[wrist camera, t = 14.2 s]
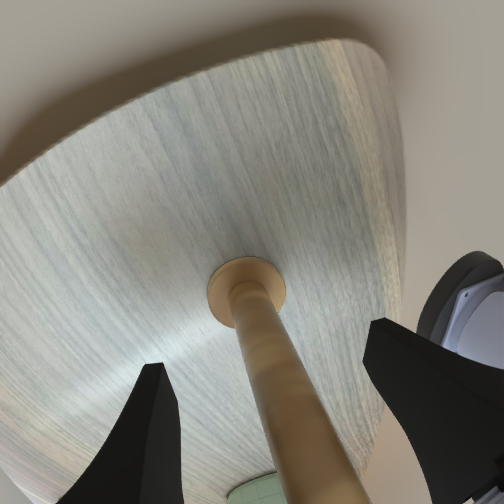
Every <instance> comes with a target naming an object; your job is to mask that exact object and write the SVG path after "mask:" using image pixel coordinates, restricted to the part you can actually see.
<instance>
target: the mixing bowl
mask: <svg viewBox="0 0 504 504" xmlns="http://www.w3.org/2000/svg"><path fill="white" fill-rule="evenodd" d="M226 503H227V504H287V502H286V499H285V496H284V493H283V490H282V487H281V483H280V480H279V477H278V474H277V472H276V473H273V474H269V475H266V476H263V477H260V478H257V479H254V480H252V481H249V482H247V483H245V484H243V485H241V486H239V487H237V488H236V489H234V490H233V491H232V492H231V493H230V495H229V498H228V499H227V501H226Z"/></svg>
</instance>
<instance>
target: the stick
mask: <svg viewBox="0 0 504 504" xmlns="http://www.w3.org/2000/svg"><path fill="white" fill-rule="evenodd" d="M285 296H286V287H285V283H284V280H283V278H282V276H281V275H280V273H279V272H278V270H277V269H276V268H275V267H274V266H273V265H272V264H271V263H269V262H268V261H266V260H264V259H260V258H256V257H241V258H237V259H234V260H231V261H229V262H227V263H226V264H224V265H223V266H221V267H220V268H219V269H218V270H217V271H216V272H215V273H214V275H213V276H212V278H211V280H210V282H209V285H208V289H207V297H208V304H209V308H210V311H211V313H212V314H213V316H214V317H215V318H216V319H217V320H218V321H219V322H220V323H222V324H223V325H225V326H228V327H230V328H234V329H236V333H237V337H238V341H239V345H240V348H241V352H242V356H243V359H244V363H245V366H246V370H247V374H248V377H249V381H250V384H251V388H252V391H253V395H254V398H255V402H256V405H257V409H258V412H259V416H260V419H261V422H262V426H263V429H264V432H265V436H266V439H267V442H268V445H269V449H270V452H271V455H272V458H273V462H274V465H275V468H276V471H277V474H278V477H279V480H280V483H281V487H282V490H283V493H284V496H285V499H286V502H287V504H372V503H371V501H370V499H369V497H368V495H367V493H366V491H365V489H364V487H363V485H362V483H361V481H360V479H359V477H358V475H357V473H356V471H355V469H354V467H353V465H352V463H351V461H350V459H349V457H348V455H347V453H346V451H345V449H344V447H343V445H342V443H341V441H340V439H339V437H338V435H337V433H336V430H335V428H334V426H333V424H332V422H331V420H330V418H329V416H328V414H327V412H326V410H325V408H324V406H323V404H322V402H321V400H320V398H319V396H318V394H317V392H316V390H315V388H314V386H313V384H312V382H311V380H310V378H309V376H308V374H307V372H306V370H305V368H304V366H303V364H302V362H301V360H300V358H299V356H298V354H297V352H296V350H295V348H294V346H293V344H292V342H291V340H290V337H289V335H288V333H287V331H286V329H285V327H284V325H283V323H282V321H281V319H280V317H279V315H278V312H279V311H280V309H281V308H282V306H283V303H284V301H285Z"/></svg>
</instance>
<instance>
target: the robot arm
mask: <svg viewBox="0 0 504 504" xmlns="http://www.w3.org/2000/svg"><path fill="white" fill-rule="evenodd" d="M455 352H457V353H458V354H459V355H458V354H456V353H455ZM362 362H363V364H364V366H365V368H366V371H367V373H368V375H369V377H370V379H371V381H372V383H373V384H374V386H375V388H376V389H377V391H378V392H379V394H380V395H381V397H382V398H383V400H384V401H385V402H386V404H387V405H388V407H389V408H390V410H391V411H392V413H393V414H394V416H395V417H396V419H397V420H398V422H399V423H400V425H401V426H402V428H403V430H404V431H405V433H406V435H407V437H408V439H409V441H410V443H411V445H412V447H413V450H414V451H415V454H416V456H417V459H418V461H419V463H420V466H421V468H422V471H423V474H424V477H425V479H426V482H427V485H428V488H429V492H430V496H431V500H432V503H433V504H463V503H465V502H466V501H467V500H469V499H470V498H471V497H472V499H473V501H474V503H473V504H504V273H501V274H499V275H497V276H494V277H492V278H489V279H487V280H484V281H482V282H479V283H477V284H474V285H472V286H469V287H467V288H464V289H462V290H460V291H459V293H458V295H457V298H456V301H455V305H454V308H453V311H452V314H451V317H450V320H449V323H448V326H447V329H446V332H445V335H444V337H443V340H442V343H441V345H440V346H439V345H437V344H435V343H433V342H431V341H429V340H427V339H425V338H424V337H422V336H420V335H418V334H416V333H414V332H412V331H410V330H409V329H407V328H405V327H403V326H401V325H399V324H397V323H395V322H393V321H391V320H389V319H387V318H385V317H384V318H381V319H378V320H374V321H371V324H370V329H369V334H368V339H367V344H366V348H365V353H364V357H363V361H362ZM56 504H184V499H183V493H182V481H181V427H180V418H179V409H178V401H177V398H176V396H175V393H174V391H173V388H172V386H171V383H170V380H169V378H168V375H167V372H166V369H165V367H164V364H163V362H162V363H153V364H145V365H144V366H143V368H142V370H141V372H140V375H139V377H138V379H137V381H136V384H135V386H134V388H133V390H132V392H131V394H130V396H129V398H128V400H127V402H126V404H125V406H124V408H123V410H122V412H121V414H120V416H119V418H118V420H117V422H116V423H115V425H114V427H113V429H112V430H111V432H110V434H109V436H108V438H107V439H106V441H105V442H104V444H103V446H102V447H101V449H100V450H99V452H98V453H97V455H96V456H95V458H94V459H93V461H92V462H91V463H90V465H89V466H88V467H87V469H86V470H85V471H84V473H83V474H82V475H81V476H80V478H79V479H78V480H77V481H76V483H75V484H74V485H73V486H72V487H71V488H70V489H69V490H68V491H67V493H66V494H65V495H64V496H63V497H62V498H61V499H60V500H59V501H58V502H57V503H56Z"/></svg>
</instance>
